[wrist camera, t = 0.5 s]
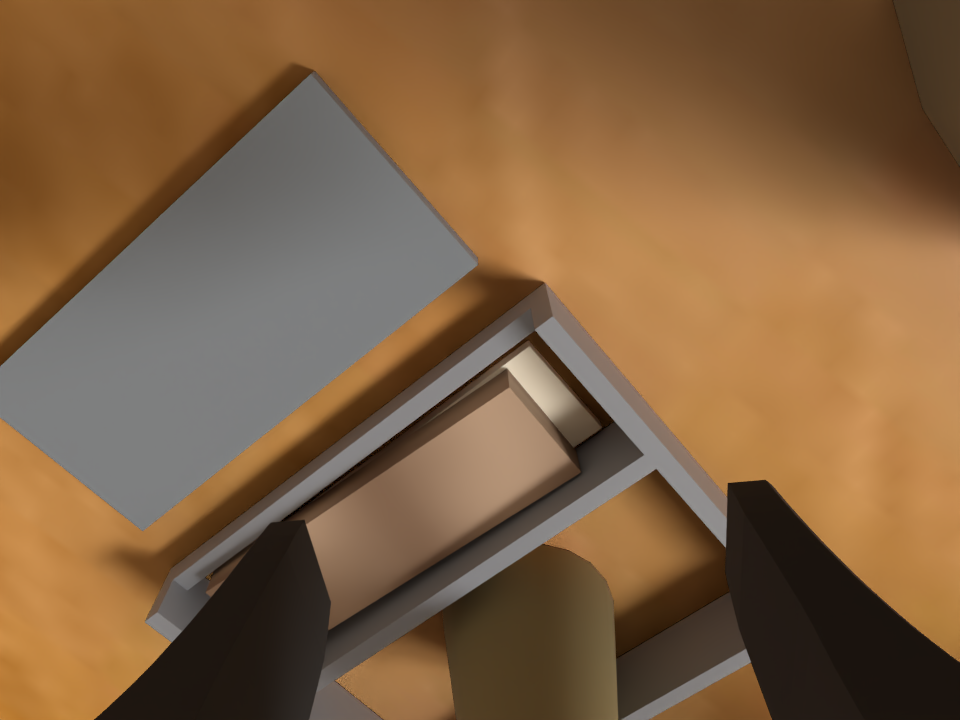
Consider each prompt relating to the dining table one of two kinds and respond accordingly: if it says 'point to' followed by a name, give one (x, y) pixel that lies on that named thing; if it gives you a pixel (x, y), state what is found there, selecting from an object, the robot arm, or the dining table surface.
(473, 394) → the top offcut
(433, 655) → the dining table surface
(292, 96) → the slate mat
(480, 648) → the cork
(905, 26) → the book
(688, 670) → the rack
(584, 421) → the bottom offcut
